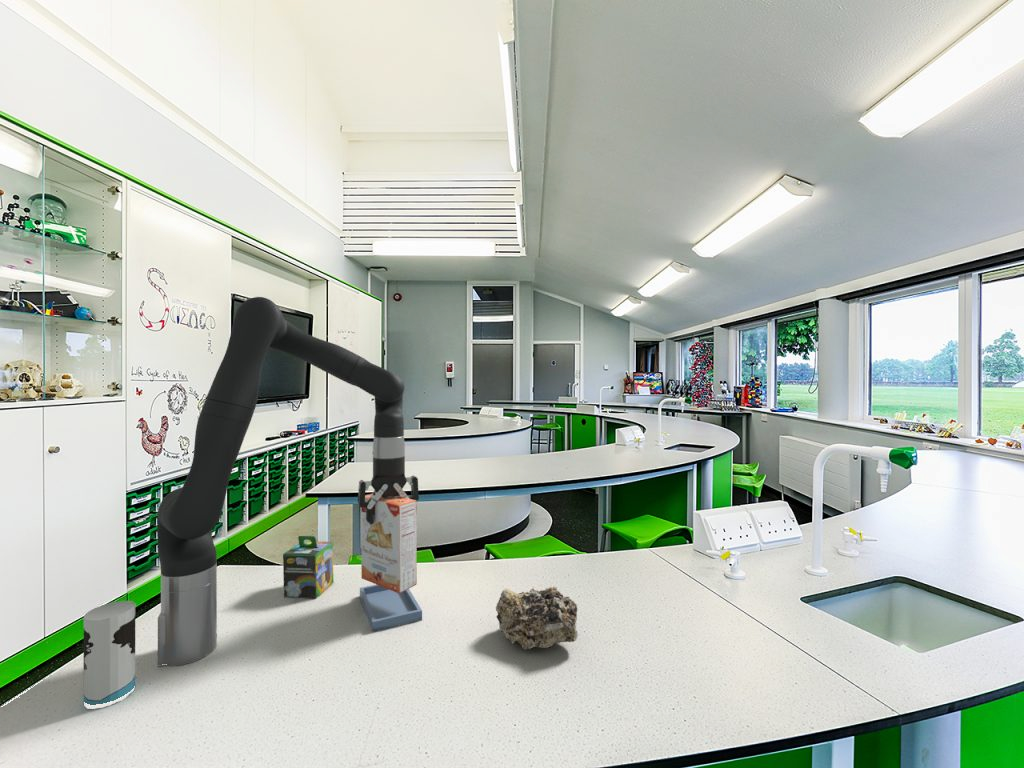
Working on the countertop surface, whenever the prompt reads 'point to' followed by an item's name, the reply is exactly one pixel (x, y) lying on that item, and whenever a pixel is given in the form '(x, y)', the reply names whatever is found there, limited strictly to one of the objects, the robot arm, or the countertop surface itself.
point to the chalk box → (308, 568)
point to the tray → (389, 607)
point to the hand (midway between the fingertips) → (388, 521)
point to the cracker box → (390, 543)
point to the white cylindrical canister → (109, 652)
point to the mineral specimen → (537, 617)
